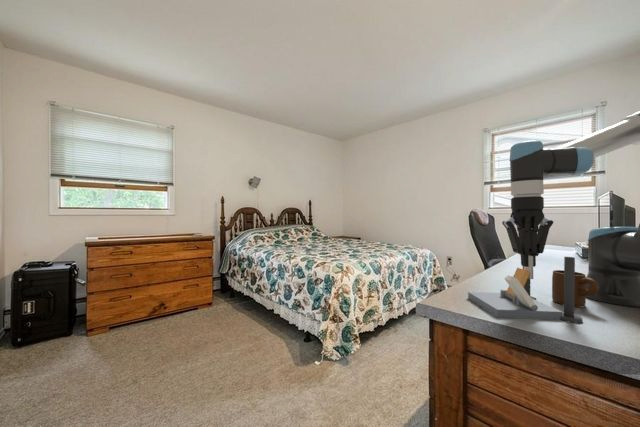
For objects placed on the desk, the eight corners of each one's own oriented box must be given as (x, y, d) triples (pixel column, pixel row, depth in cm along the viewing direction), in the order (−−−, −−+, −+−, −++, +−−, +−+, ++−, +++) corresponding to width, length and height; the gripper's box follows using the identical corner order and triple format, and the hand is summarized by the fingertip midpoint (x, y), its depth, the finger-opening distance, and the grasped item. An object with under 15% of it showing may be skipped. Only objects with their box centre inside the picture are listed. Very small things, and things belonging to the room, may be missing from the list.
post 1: (529, 297, 88) (529, 248, 88) (540, 302, 83) (540, 250, 83) (512, 296, 88) (513, 248, 88) (523, 301, 83) (523, 250, 83)
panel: (520, 299, 85) (520, 287, 85) (562, 319, 69) (562, 304, 69) (468, 298, 86) (468, 285, 86) (497, 317, 70) (497, 301, 70)
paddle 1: (509, 298, 81) (522, 269, 80) (517, 302, 77) (530, 272, 77) (504, 296, 81) (516, 267, 80) (511, 300, 77) (525, 269, 77)
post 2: (571, 315, 72) (571, 256, 72) (588, 323, 67) (588, 259, 67) (551, 315, 72) (551, 255, 72) (566, 322, 67) (567, 258, 67)
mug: (610, 313, 75) (610, 279, 75) (584, 313, 74) (584, 279, 74) (567, 299, 87) (568, 270, 87) (545, 299, 86) (545, 270, 86)
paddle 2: (529, 304, 73) (508, 275, 73) (539, 308, 69) (517, 278, 70) (524, 307, 73) (503, 278, 74) (533, 312, 70) (512, 281, 70)
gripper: (539, 196, 81) (541, 274, 81) (496, 197, 82) (498, 275, 82) (560, 194, 74) (562, 281, 74) (512, 196, 75) (514, 281, 75)
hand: (528, 277), depth 78 cm, fingers closed
